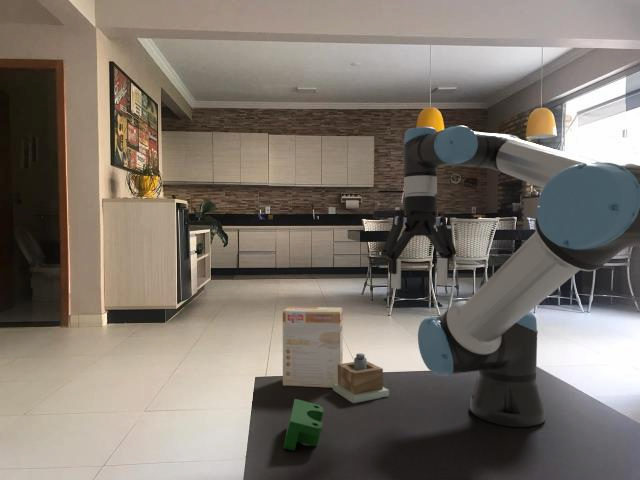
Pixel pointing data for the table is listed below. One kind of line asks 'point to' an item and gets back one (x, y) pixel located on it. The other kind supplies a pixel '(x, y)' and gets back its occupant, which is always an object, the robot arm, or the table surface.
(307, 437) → the clamp
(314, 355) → the coffeecake box
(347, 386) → the collar
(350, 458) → the table surface
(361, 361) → the sage green base plate
